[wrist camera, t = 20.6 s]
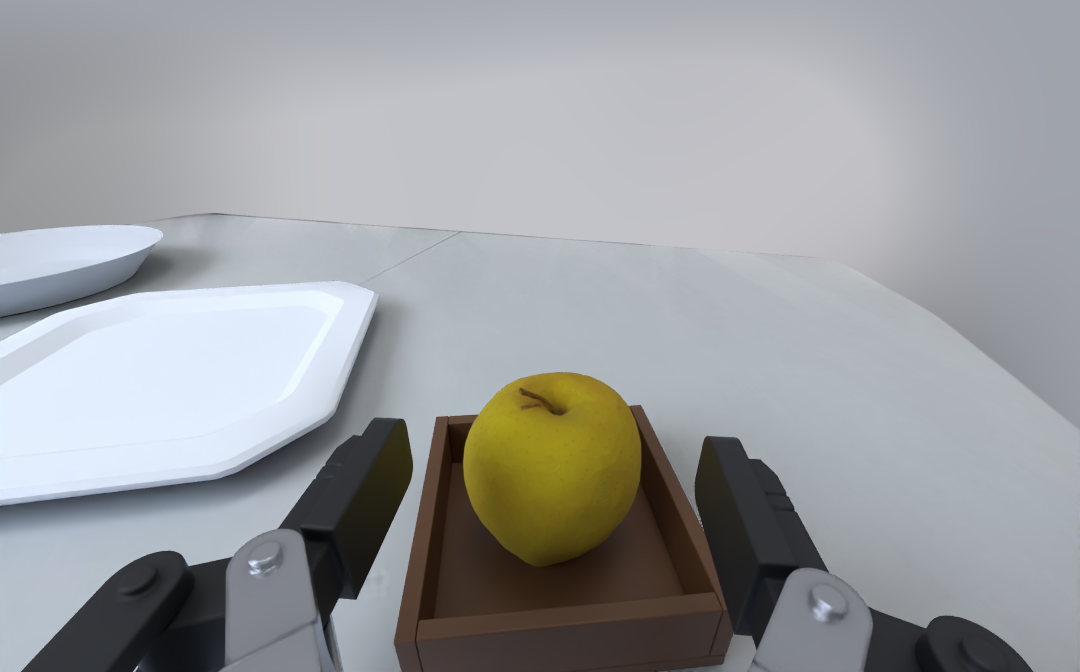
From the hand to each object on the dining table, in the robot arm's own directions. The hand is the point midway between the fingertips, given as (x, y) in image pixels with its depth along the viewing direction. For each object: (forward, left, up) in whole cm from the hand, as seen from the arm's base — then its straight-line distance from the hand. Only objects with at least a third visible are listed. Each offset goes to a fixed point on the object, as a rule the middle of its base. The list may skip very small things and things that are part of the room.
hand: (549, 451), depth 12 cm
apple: (0, -3, -8) cm, 8 cm away
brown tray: (-1, -3, -8) cm, 9 cm away
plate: (+23, -18, -8) cm, 31 cm away
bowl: (+50, -38, -8) cm, 64 cm away
